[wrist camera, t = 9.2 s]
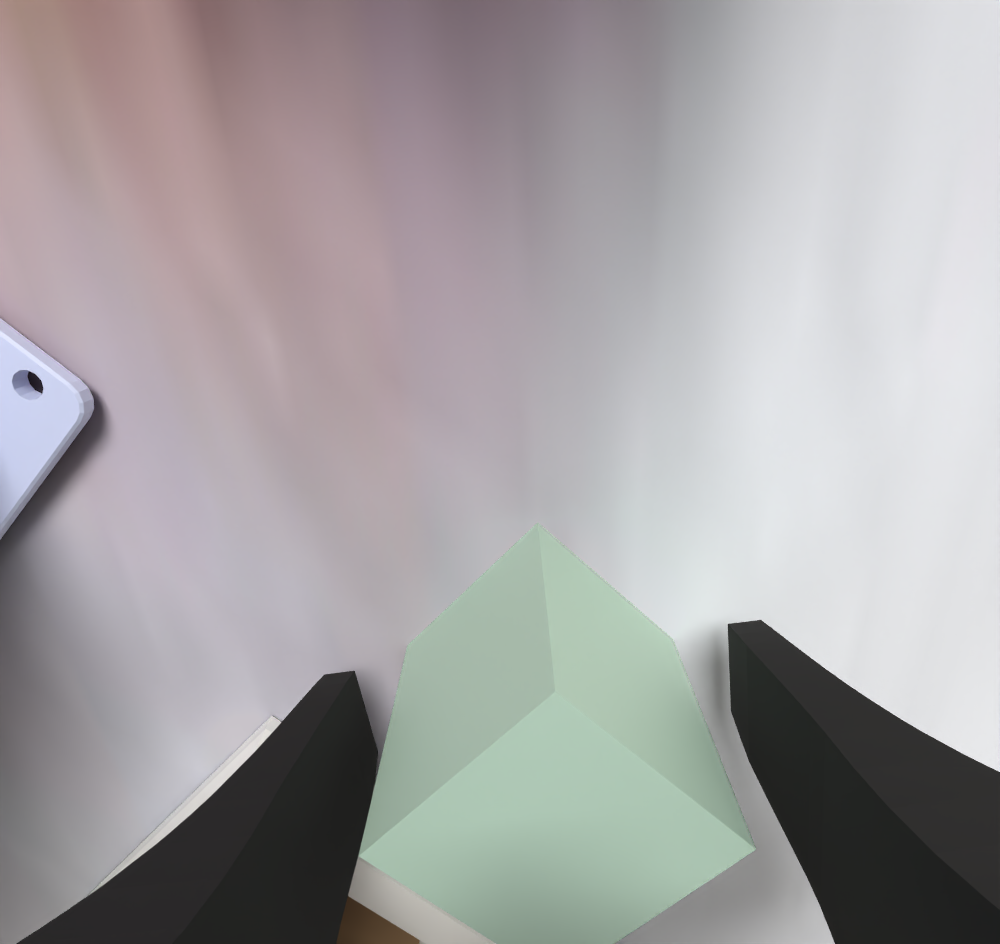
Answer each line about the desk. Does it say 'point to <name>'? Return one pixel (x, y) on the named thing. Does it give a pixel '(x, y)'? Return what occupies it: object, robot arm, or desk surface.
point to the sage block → (549, 761)
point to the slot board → (436, 929)
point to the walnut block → (369, 927)
